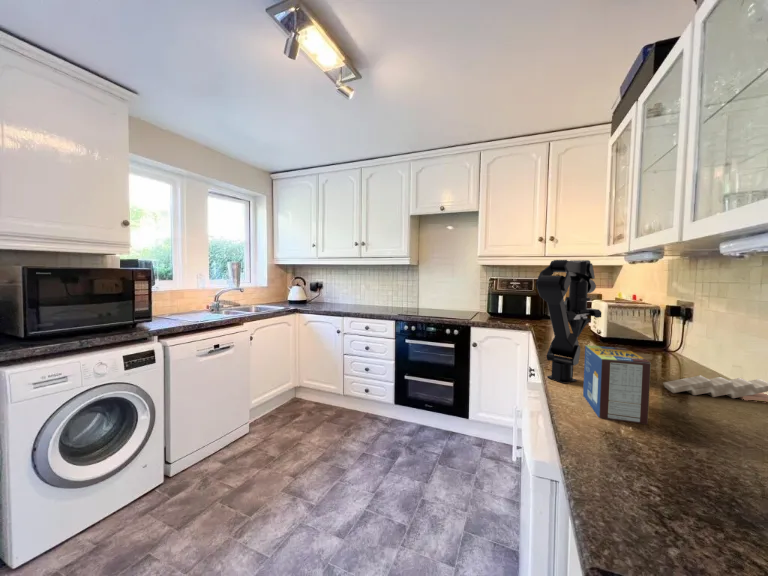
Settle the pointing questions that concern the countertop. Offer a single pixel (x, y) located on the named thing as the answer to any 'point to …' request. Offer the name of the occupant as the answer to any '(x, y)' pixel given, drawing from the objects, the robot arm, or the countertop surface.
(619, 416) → the protein box
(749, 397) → the domino
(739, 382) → the domino
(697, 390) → the domino
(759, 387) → the domino
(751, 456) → the countertop surface
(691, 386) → the domino
